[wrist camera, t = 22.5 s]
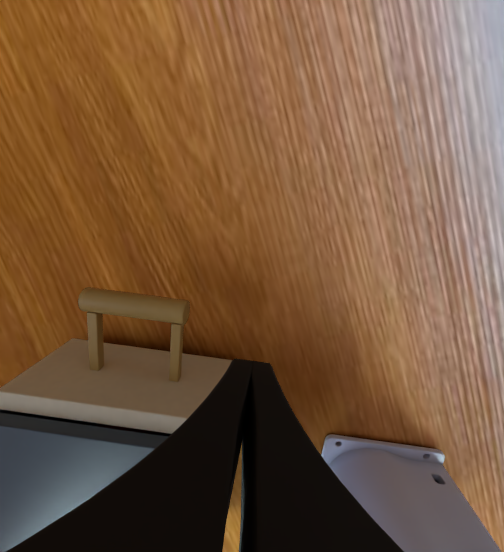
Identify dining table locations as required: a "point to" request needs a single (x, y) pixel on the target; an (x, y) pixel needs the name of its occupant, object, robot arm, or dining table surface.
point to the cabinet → (57, 469)
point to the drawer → (118, 372)
